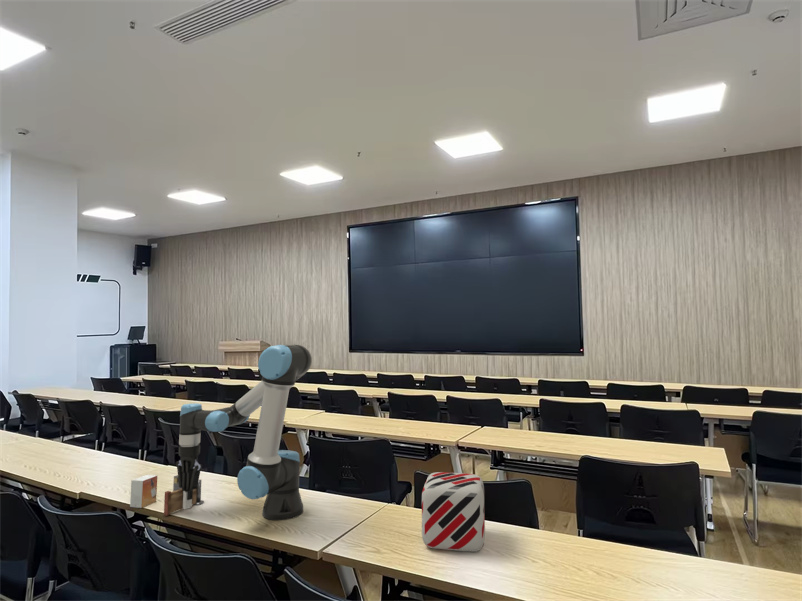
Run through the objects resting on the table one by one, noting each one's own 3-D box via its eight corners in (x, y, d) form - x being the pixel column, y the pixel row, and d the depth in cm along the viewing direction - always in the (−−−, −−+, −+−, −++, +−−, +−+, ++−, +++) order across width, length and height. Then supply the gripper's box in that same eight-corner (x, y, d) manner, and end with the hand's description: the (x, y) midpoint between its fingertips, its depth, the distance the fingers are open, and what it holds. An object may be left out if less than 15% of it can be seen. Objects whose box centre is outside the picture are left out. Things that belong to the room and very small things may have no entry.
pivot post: (206, 502, 186) (207, 479, 187) (197, 505, 182) (198, 482, 183) (198, 500, 188) (199, 478, 189) (189, 504, 184) (190, 481, 185)
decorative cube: (485, 557, 139) (484, 489, 141) (420, 552, 143) (419, 486, 145) (484, 530, 159) (484, 471, 161) (427, 526, 163) (427, 468, 164)
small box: (141, 508, 180) (142, 480, 181) (129, 507, 181) (130, 479, 182) (156, 501, 187) (158, 475, 188) (145, 500, 189) (146, 474, 190)
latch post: (185, 496, 194) (186, 475, 194) (178, 498, 191) (179, 477, 191) (177, 494, 196) (178, 474, 196) (170, 497, 193) (171, 476, 193)
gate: (193, 503, 184) (194, 481, 185) (197, 504, 183) (197, 482, 184) (163, 515, 172) (164, 491, 173) (167, 515, 171) (168, 492, 172)
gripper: (209, 444, 177) (206, 507, 175) (187, 440, 183) (185, 501, 181) (192, 448, 170) (189, 514, 168) (170, 444, 177) (167, 507, 175)
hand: (187, 507), depth 175 cm, fingers closed
